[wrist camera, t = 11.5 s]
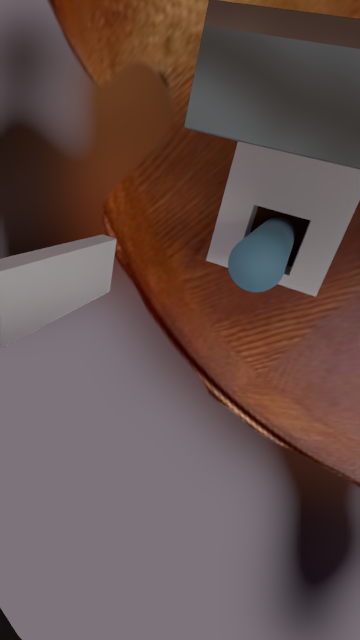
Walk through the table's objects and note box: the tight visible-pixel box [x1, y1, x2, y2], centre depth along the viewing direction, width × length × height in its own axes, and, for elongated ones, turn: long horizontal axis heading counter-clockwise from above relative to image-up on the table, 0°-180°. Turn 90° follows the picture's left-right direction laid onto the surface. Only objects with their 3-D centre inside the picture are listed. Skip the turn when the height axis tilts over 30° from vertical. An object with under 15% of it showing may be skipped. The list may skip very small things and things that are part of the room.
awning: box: [184, 0, 360, 170], centre depth 23 cm, size 6×14×18 cm, turn 77°
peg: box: [228, 217, 296, 292], centre depth 29 cm, size 4×4×15 cm
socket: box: [206, 141, 360, 297], centre depth 32 cm, size 15×12×4 cm
